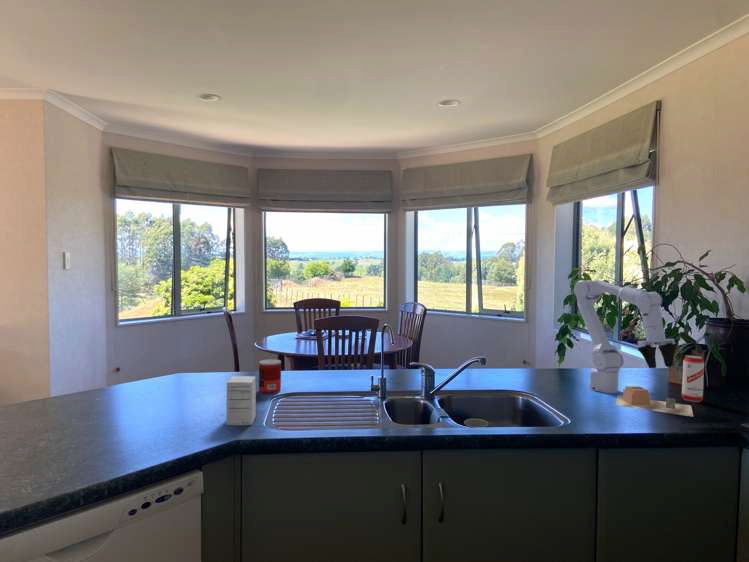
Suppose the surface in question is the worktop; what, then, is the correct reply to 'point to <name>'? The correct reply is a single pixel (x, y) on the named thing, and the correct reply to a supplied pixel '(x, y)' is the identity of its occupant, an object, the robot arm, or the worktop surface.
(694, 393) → the beer can
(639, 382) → the worktop surface
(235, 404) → the supplement box
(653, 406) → the board
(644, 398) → the tan boxy piece
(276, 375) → the canned food
